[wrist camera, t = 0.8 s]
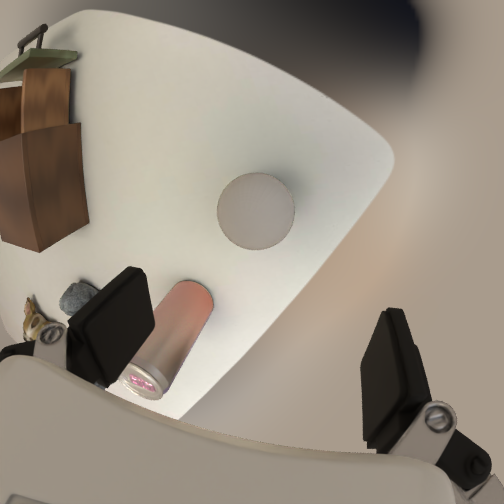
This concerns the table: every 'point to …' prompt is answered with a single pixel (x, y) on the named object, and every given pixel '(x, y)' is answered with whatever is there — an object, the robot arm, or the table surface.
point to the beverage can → (168, 340)
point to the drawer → (35, 88)
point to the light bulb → (255, 211)
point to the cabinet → (42, 187)
